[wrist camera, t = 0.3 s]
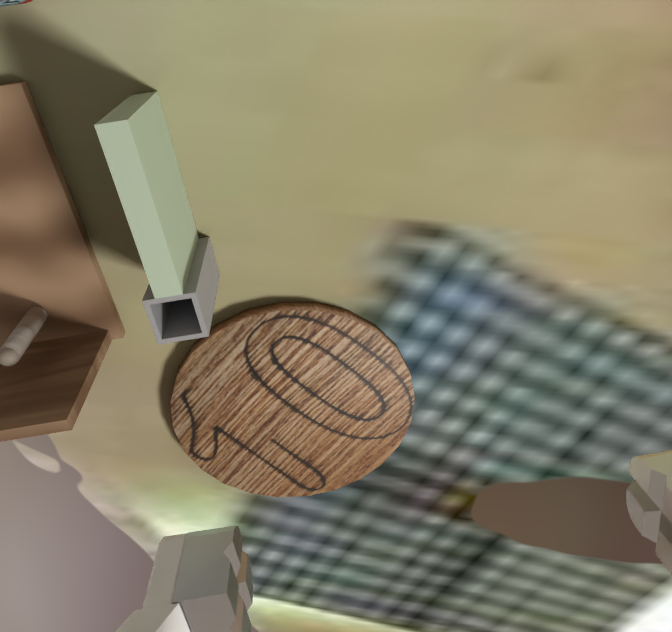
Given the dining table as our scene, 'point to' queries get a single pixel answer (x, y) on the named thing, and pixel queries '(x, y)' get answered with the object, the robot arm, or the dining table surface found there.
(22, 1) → the beverage can
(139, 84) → the dining table surface
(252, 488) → the trivet
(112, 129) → the pale green grey block
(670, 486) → the robot arm
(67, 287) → the cabinet base
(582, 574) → the dining table surface
